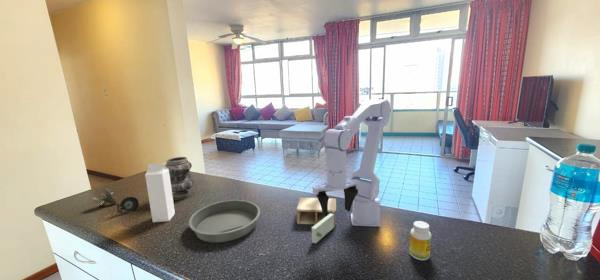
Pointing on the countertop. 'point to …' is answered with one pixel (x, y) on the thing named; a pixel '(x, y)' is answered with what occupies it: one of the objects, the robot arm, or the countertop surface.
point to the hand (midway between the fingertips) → (336, 212)
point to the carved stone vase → (180, 177)
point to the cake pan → (224, 220)
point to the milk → (159, 192)
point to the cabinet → (313, 210)
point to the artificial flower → (126, 204)
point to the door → (323, 227)
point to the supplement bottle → (420, 241)
